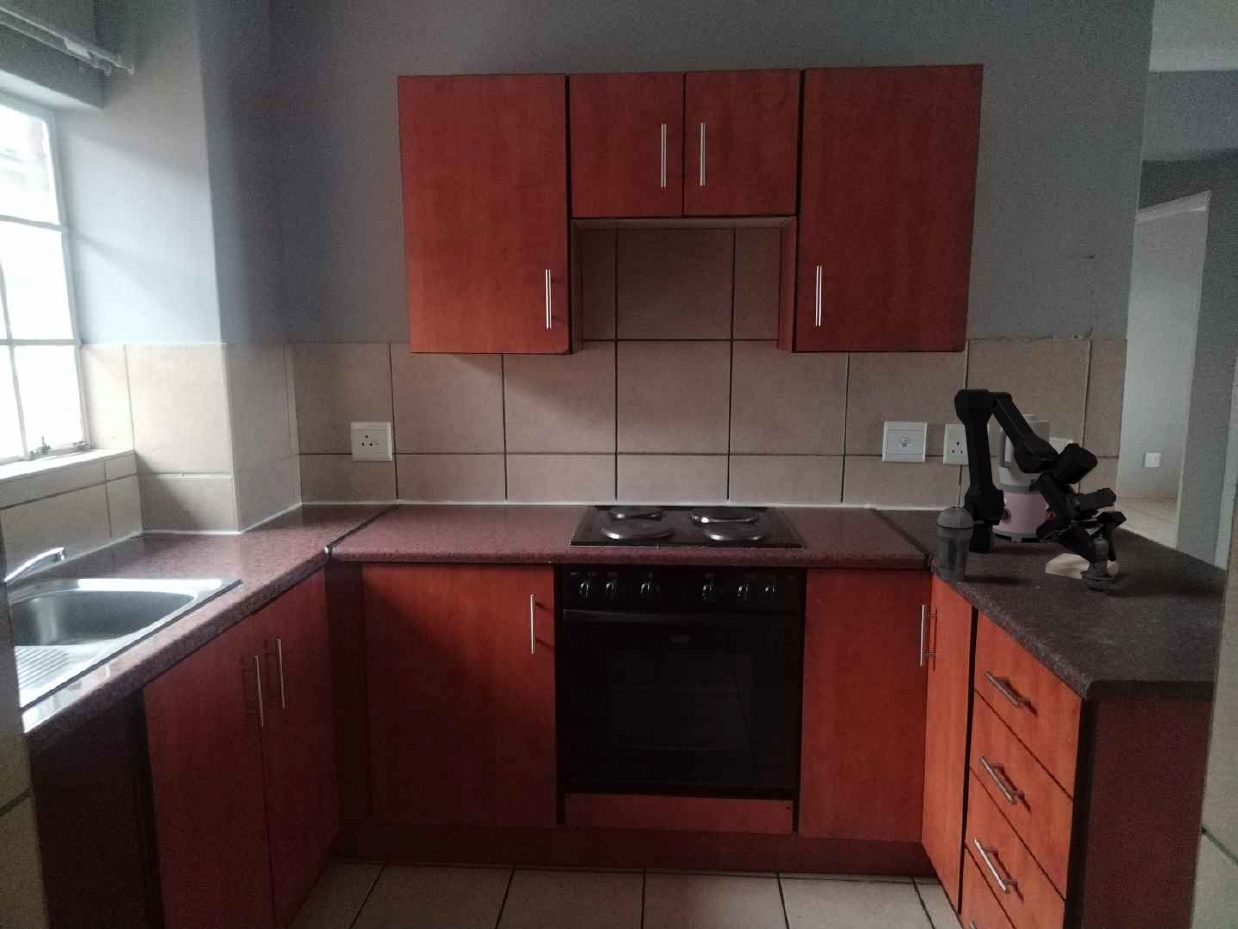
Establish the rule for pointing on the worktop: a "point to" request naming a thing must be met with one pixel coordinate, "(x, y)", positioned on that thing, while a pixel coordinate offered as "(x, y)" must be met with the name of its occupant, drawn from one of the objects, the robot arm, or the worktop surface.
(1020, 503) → the blender
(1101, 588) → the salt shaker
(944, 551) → the beverage cup
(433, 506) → the worktop surface
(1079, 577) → the wooden tray
